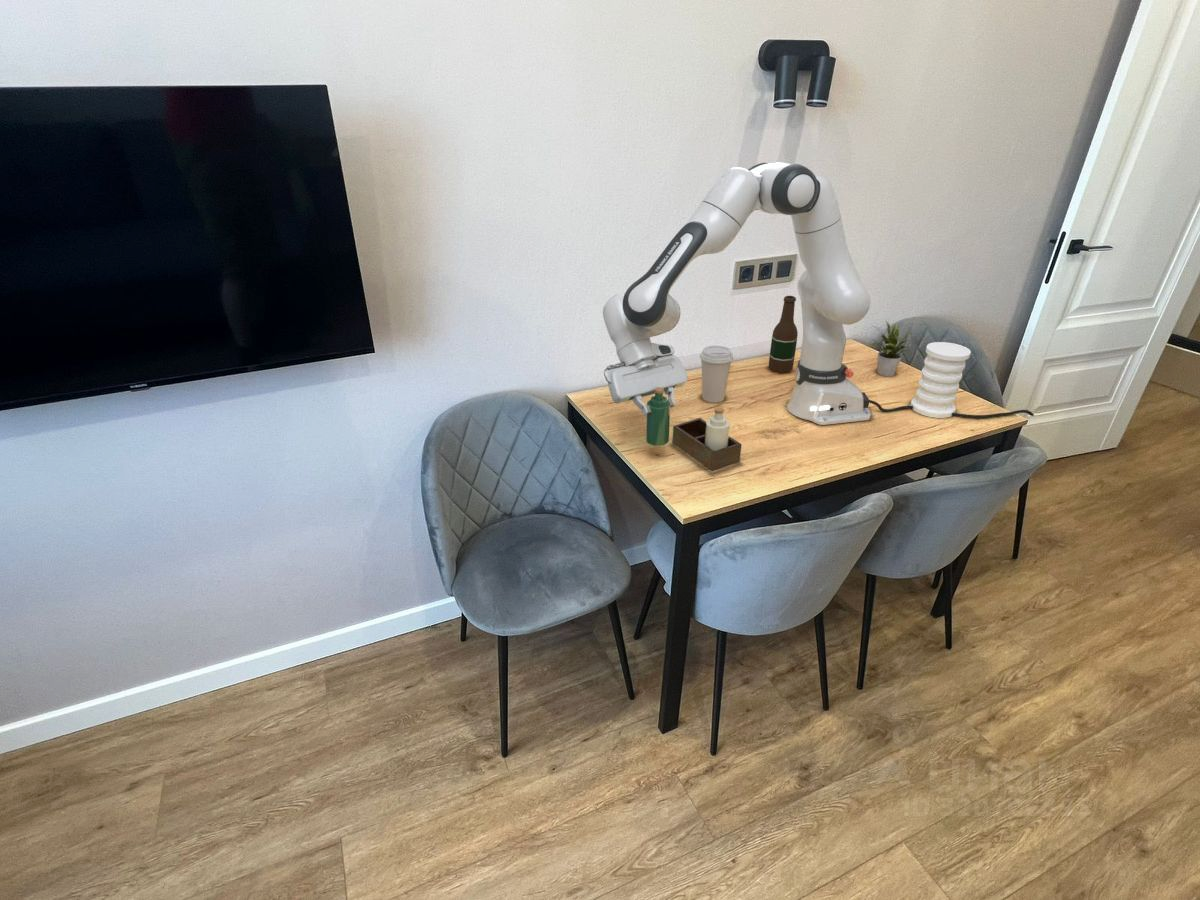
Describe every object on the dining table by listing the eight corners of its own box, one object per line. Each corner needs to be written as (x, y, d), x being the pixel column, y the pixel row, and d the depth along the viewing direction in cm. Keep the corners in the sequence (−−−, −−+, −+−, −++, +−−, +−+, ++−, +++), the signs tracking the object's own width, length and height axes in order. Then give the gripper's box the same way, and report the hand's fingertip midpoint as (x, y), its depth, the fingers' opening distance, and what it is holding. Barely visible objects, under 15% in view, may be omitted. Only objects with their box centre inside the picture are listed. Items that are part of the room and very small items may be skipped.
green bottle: (667, 434, 159) (670, 383, 153) (669, 445, 155) (672, 393, 148) (645, 434, 160) (646, 384, 153) (646, 446, 155) (647, 394, 148)
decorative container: (964, 413, 180) (982, 352, 171) (933, 421, 176) (950, 359, 167) (931, 397, 189) (946, 339, 180) (901, 404, 185) (915, 345, 176)
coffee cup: (693, 401, 189) (696, 354, 181) (701, 389, 196) (704, 342, 189) (725, 406, 185) (730, 358, 178) (732, 393, 193) (737, 346, 186)
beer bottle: (793, 374, 205) (804, 301, 193) (768, 373, 206) (777, 299, 194) (791, 365, 211) (802, 293, 199) (767, 364, 213) (776, 292, 201)
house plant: (851, 364, 211) (860, 316, 203) (891, 362, 213) (902, 314, 204) (872, 381, 199) (882, 331, 191) (914, 379, 200) (927, 329, 192)
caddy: (672, 445, 166) (673, 425, 164) (698, 437, 170) (700, 417, 167) (711, 474, 154) (713, 453, 151) (739, 464, 158) (741, 444, 155)
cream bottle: (724, 452, 161) (729, 403, 154) (728, 464, 156) (733, 413, 149) (702, 453, 161) (705, 403, 154) (705, 464, 156) (709, 414, 149)
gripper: (605, 361, 148) (628, 415, 145) (678, 344, 156) (700, 395, 154) (596, 373, 153) (617, 425, 151) (667, 356, 162) (688, 405, 159)
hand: (660, 410), depth 152 cm, fingers closed on green bottle, 5 cm apart
